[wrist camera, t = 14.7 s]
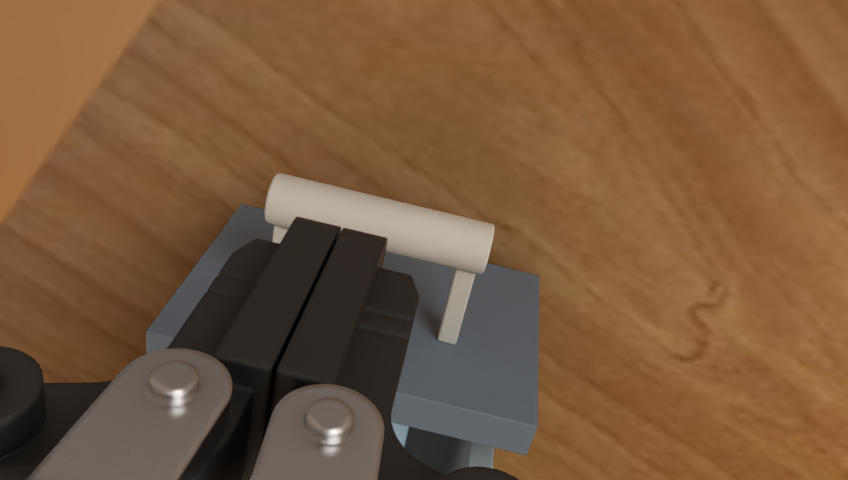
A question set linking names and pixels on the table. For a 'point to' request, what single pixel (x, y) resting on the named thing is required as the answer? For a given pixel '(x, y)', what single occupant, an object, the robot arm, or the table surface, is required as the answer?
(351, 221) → the drawer
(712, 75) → the table surface
